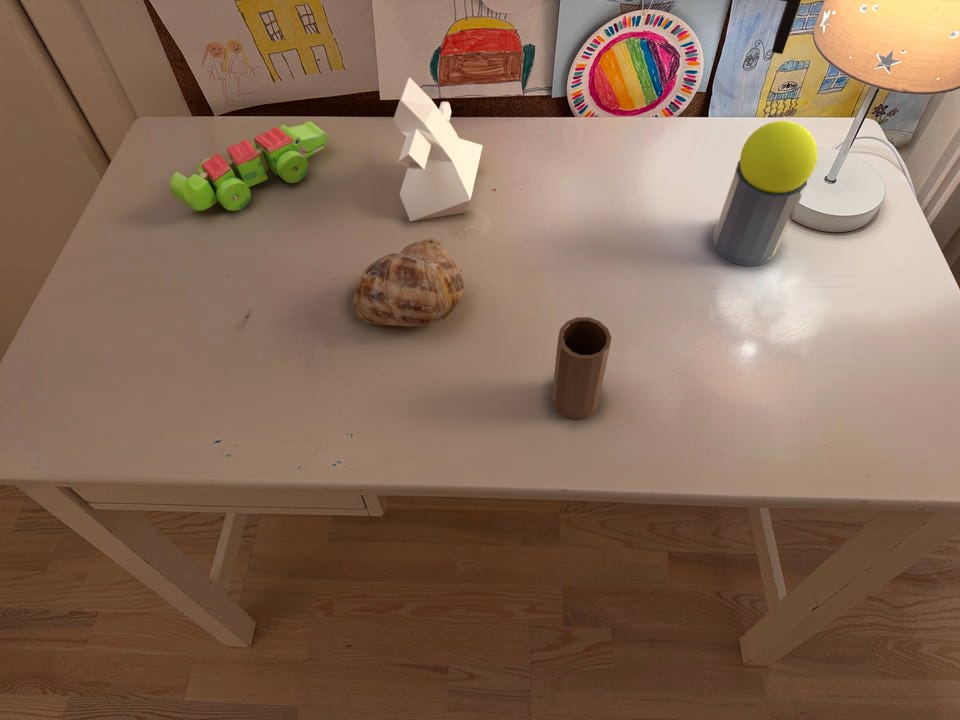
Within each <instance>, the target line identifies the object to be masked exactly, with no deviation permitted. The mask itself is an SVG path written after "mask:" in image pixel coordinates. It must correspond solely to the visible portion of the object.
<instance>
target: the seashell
mask: <svg viewBox="0 0 960 720" xmlns="http://www.w3.org/2000/svg"><path fill="white" fill-rule="evenodd" d="M441 243H442V242H441V241H439V240H438V239H436V238H434V237H428V238H426V239H425V238H424V239H422V240H421V241H416V242H412V243H410V244H408V245H406V246H405V247H404V248H403V249H402V250H401V251H400V252H397V253H390V254H387V255H384V256H381V257H380V258H378V259H376V260H374V261H373V262H371V263H370V264H369V265H367V266H366V267H365V268H364V269H363V271H362V273H361V274H360V276H359V278H358V280H357V282H356V284H355V291H354V297H353V301H352V303H353V309H354V312H355V313H356V315H357V317H359V318H360V319H362V320H363V322H365V323H367V324H368V323H369V324H374V325H378V326H402V327H410V328H411V327H421V326H429V325H432V324H434V323H437V322H439V321H441V320H444V319H446V318H447V317H448V316H449V315H450V314H451V313H452V312H453V311H454V310H455V309H456V307H457V306H458V304H459V303H460V302H461V300H462V298H463V295H464V289H465V286H464V280H463V276H462V274H461V272H460V270H459V268H458V266H457V264H456V263H455V261H454V260H453V259H452V257H451V256H450V254H449V252H448V250H447V249H446V248H445V246H443V244H441Z"/></svg>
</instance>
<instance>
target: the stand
mask: <svg viewBox="0 0 960 720" xmlns="http://www.w3.org/2000/svg"><path fill="white" fill-rule="evenodd" d="M611 343H612V336H611V332H610V330H609V327H607V326H606V325H604V323H603V322H601V321H600V320H597V319H595V318H592V317H589V316H588V317H587V316H583V317H582V316H580V317H579V316H578V317H575V318H572V319H569V320H567V321H566V322H565V323H564V324H563V325H562V326H561V327H560V328H559V332H558V337H557V345H556V355H555V363H554V371H553V372H554V373H553V383H552V391H551V395H552V396H551V402H552V405H553V406H554V408H555V410H556V411H557V412H558V414H560V415H561V416H564V417H565V418H568V419H571V420H582V419H585V418H587V417H590V416H591V415H592V414H593V413H595V411H596V409H597V407H598V404H599V400H600V397H601V392H602V387H603V382H604V378H605V373H606V367H607V363H608V358H609V355H610V354H609V353H610V349H611Z"/></svg>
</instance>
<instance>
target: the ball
mask: <svg viewBox="0 0 960 720" xmlns="http://www.w3.org/2000/svg"><path fill="white" fill-rule="evenodd" d="M739 161H740V167H741V172H742V175H743V177H744V179H745V180H746V181H747V182H748V183H749V184H750V185H751V186H753V187H755V188H757V189H759V190H761V191H764V192H769V193H773V194H780V193H788V192H791V191H793V190H795V189H797V188H798V187H800V186H801V185H802V184H803V183H805V182H806V180H807V179H808V180H809V178H810V177H811V175H812V174H813V172H814V171H815V169H816V165H817V161H818V147H817V143H816V140H815V138H814V136H813V135H812V134H811V132H810V131H809V130H808V129H807V127H804V126H803V125H801V124H799V123H797V122H794V121H791V120H776V121H772V122H768V123H765V124H764V125H762V126H759V128H757V129H756V130H755V131H753V132H752V133H751V135H750V136H748V138H747V139H746V141H745V143H744V144H743V147H742V148H741V151H740V156H739Z"/></svg>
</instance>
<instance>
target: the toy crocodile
mask: <svg viewBox="0 0 960 720" xmlns="http://www.w3.org/2000/svg"><path fill="white" fill-rule="evenodd" d="M253 140H254V144H253V145H252V143H251V142H250V141H249V140H248V139H244V140H241V141H240V142H238V143H235V144H231V145H229V146H228V147H226V151H227V154H228V157H229V159H226V160H225V159H224V158H223V157H222V156H221V155H220V153H215V154H214V155H212V156H211V157H208V158H206V159H204V160H203V161H201V162H200V164H199V165H198V168H197V174H196V173H193V174H192V175H191V176H189V177H187V176H185V175H183V174H182V173H180V172H178V171H175V172H174V173H173V175H172V176H171V179H170V182H169V189H170V192H171V193H172V194H173V196H174V197H175V199H177V200H178V201H180V202H182V203H183V204H185V205H186V206H187V207H189V208H191V209H192V210H194V211H198V212H199V211H205V210H208V209H209V208H211V207H213V205H215V204H216V203H218V202H219V203H220V205H221V206H222V207H223V208H224V209H226V210H228V211H230V212H236V211H240V210H242V209H244V208H245V207H246V206H247V205H248V204H249V203H250V201H251V195H252V194H251V193H252V192H251V190H250V187H253V186H255V185H257V184H260V183H263V182H265V181H267V180H268V179H269V177H268V175H267V173H266V172H267V171H269V170H270V171H271V172H272V173H273V174H274V175H276V176H279V178H280V179H282V180H283V181H284V182H285V183H288V184H295V183H298V182H300V181H301V180H303V179H304V178H305V177H306V175H307V173H308V170H309V169H308V168H309V163H308V161H307V159H308V158H309V157H312V156H313V155H315V154H317V153H318V152H319V151H322V150H323V149H324V148H325V147H326V142H327V140H328V134H327V133H326V132H325V131H323V130H322V129H321V128H320V127H318V126H317V125H316V124H315V123H314V122H312V121H306V122H305V123H303V124H299V125H295V126H290V127H287V126H286V125H285V124H281V125H280V126H279V127H277V126H276V127H273V128H271V129H270V130H267V131H264V132H263V133H262V134H259V135H257V136H255V137H254V138H253Z"/></svg>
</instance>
